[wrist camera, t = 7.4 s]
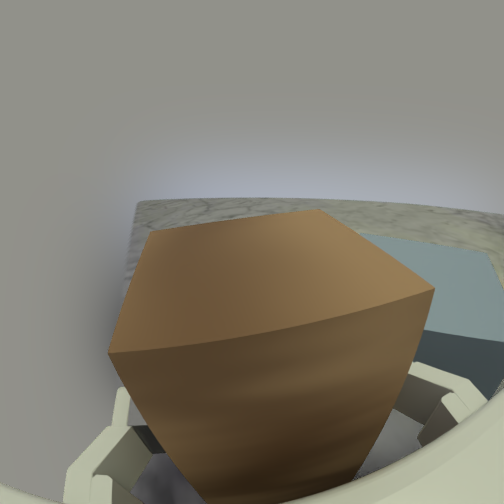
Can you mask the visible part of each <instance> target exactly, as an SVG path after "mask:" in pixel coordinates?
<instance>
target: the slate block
mask: <svg viewBox="0 0 504 504" xmlns="http://www.w3.org/2000/svg"><path fill="white" fill-rule="evenodd" d="M359 235H361V236H362V237H364V238H365V239H367V240H368V241H370V242H371V243H373V244H374V245H376V246H377V247H379V248H380V249H382V250H383V251H385V252H386V253H388V254H389V255H390V256H392V257H393V258H395V259H396V260H398V261H399V262H400V263H402V264H403V265H405V266H406V267H407V268H409V269H410V270H412V271H413V272H414V273H416V274H417V275H419V276H420V277H421V278H423V279H424V280H425V281H427V282H428V283H429V284H431V285H432V286H433V287H435V291H434V295H433V299H432V303H431V306H430V310H429V314H428V317H427V320H426V324H425V327H424V330H423V333H422V336H421V339H420V342H419V345H418V348H417V351H416V353H415V356H414V359H413V362H420V363H423V364H426V365H428V366H431V367H434V368H437V369H440V370H442V371H445V372H448V373H451V374H454V375H457V376H460V377H463V378H466V379H469V380H470V381H471V383H472V384H473V385H474V386H475V387H476V388H477V389H478V390H479V391H480V392H481V394H482V395H483V396H484V397H485V398H486V399H487V400H488V401H489V400H490V398H491V397H492V395H493V394H494V392H495V391H496V389H497V388H498V386H499V384H500V383H501V381H502V380H503V378H504V290H503V288H502V285H501V283H500V281H499V279H498V276H497V274H496V272H495V270H494V268H493V266H492V263H491V261H490V259H489V257H488V255H487V253H483V252H478V251H472V250H466V249H461V248H455V247H449V246H443V245H437V244H431V243H424V242H418V241H412V240H405V239H398V238H392V237H385V236H378V235H371V234H364V233H360V234H359Z"/></svg>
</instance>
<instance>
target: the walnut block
mask: <svg viewBox="0 0 504 504" xmlns="http://www.w3.org/2000/svg"><path fill="white" fill-rule="evenodd" d="M434 291H435V287H433V286H432V285H431V284H429V283H428V282H427V281H425V280H424V279H423V278H421V277H420V276H419V275H417V274H416V273H414V272H413V271H412V270H410V269H409V268H407V267H406V266H405V265H403V264H402V263H400V262H399V261H398V260H396V259H395V258H393V257H392V256H390V255H389V254H388V253H386V252H385V251H383V250H382V249H380V248H379V247H377V246H376V245H374V244H373V243H371V242H370V241H368V240H367V239H365V238H364V237H362V236H361V235H359V234H358V233H356V232H355V231H353V230H352V229H350V228H348V227H347V226H345V225H344V224H342V223H341V222H339V221H338V220H336V219H334V218H333V217H331V216H330V215H328V214H326V213H325V212H323V211H321V210H320V209H316V210H307V211H298V212H289V213H281V214H272V215H264V216H256V217H248V218H241V219H233V220H226V221H219V222H211V223H204V224H197V225H191V226H184V227H177V228H171V229H164V230H158V231H152V232H150V234H149V237H148V239H147V242H146V244H145V247H144V249H143V251H142V254H141V257H140V259H139V262H138V264H137V267H136V269H135V272H134V275H133V277H132V280H131V283H130V286H129V288H128V291H127V294H126V297H125V300H124V303H123V305H122V308H121V311H120V314H119V317H118V321H117V324H116V327H115V330H114V333H113V336H112V340H111V343H110V346H109V350H108V355H109V357H110V359H111V361H112V363H113V365H114V367H115V369H116V371H117V373H118V375H119V377H120V379H121V381H122V382H123V384H124V386H125V388H126V390H127V392H128V393H129V395H130V397H131V399H132V400H133V402H134V404H135V405H136V407H137V409H138V410H139V412H140V414H141V415H142V417H143V419H144V420H145V422H146V423H147V425H148V427H149V428H150V430H151V431H152V433H153V434H154V436H155V437H156V439H157V440H158V442H159V443H160V444H161V446H162V447H163V449H164V450H165V452H166V453H167V454H168V456H169V457H170V458H171V460H172V461H173V463H174V464H175V465H176V466H177V468H178V469H179V470H180V472H181V473H182V474H183V475H184V477H185V478H186V479H187V480H188V482H189V483H190V484H191V485H192V487H193V488H194V489H195V490H196V491H197V492H198V494H199V495H200V496H201V497H202V498H203V499H204V500H205V502H206V503H207V504H280V503H284V502H288V501H292V500H296V499H300V498H303V497H307V496H310V495H314V494H317V493H320V492H323V491H326V490H329V489H332V488H335V487H338V486H341V485H343V484H346V483H349V482H351V481H352V479H353V478H354V476H355V475H356V473H357V472H358V470H359V469H360V467H361V465H362V464H363V462H364V460H365V459H366V457H367V455H368V454H369V452H370V450H371V449H372V447H373V445H374V443H375V441H376V440H377V438H378V436H379V434H380V432H381V430H382V428H383V427H384V425H385V423H386V421H387V419H388V417H389V415H390V413H391V411H392V408H393V406H394V404H395V402H396V400H397V398H398V395H399V393H400V391H401V389H402V386H403V384H404V382H405V379H406V377H407V374H408V372H409V369H410V367H411V364H412V362H413V359H414V356H415V353H416V351H417V348H418V345H419V342H420V339H421V336H422V333H423V330H424V327H425V324H426V320H427V317H428V314H429V310H430V306H431V303H432V299H433V295H434Z"/></svg>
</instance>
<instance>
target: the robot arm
mask: <svg viewBox="0 0 504 504" xmlns="http://www.w3.org/2000/svg"><path fill="white" fill-rule="evenodd" d="M393 408H394V409H396V410H397V411H399V412H401V413H403V414H405V415H406V416H408V417H410V418H412V419H414V420H416V421H417V422H419V423H421V424H423V425H424V427H423V428H422V430H421V431H420V433H419V434H418V437H417V439H418V440H419V442H420V443H421V445H422V446H423V447H422V448H420V449H418V450H417V451H415V452H413V453H411V454H409V455H408V456H406V457H404V458H402V459H400V460H398V461H396V462H394V463H392V464H390V465H388V466H386V467H384V468H382V469H379V470H377V471H375V472H373V473H371V474H368V475H366V476H364V477H361V478H359V479H356V480H354V481H351V482H349V483H346V484H343V485H341V486H338V487H335V488H332V489H329V490H326V491H323V492H320V493H317V494H314V495H310V496H307V497H303V498H300V499H296V500H292V501H288V502H284V503H280V504H504V388H503V389H502V390H500V391H499V392H498V393H497V394H496V395H495V396H494V397H492V398H491V399H490V400H489V401H488V400H487V399H486V398H485V397H484V396H483V395H482V394H481V392H480V391H479V390H478V389H477V388H476V387H475V386H474V385H473V384H472V383H471V381H470V380H469V379H466V378H463V377H460V376H457V375H454V374H451V373H448V372H445V371H442V370H440V369H437V368H434V367H431V366H428V365H426V364H423V363H420V362H412V364H411V367H410V369H409V372H408V374H407V377H406V379H405V382H404V384H403V386H402V389H401V391H400V393H399V395H398V398H397V400H396V402H395V404H394V406H393ZM159 453H166V452H165V450H164V449H163V447H162V446H161V444H160V443H159V442H158V440H157V439H156V437H155V436H154V434H153V433H152V431H151V430H150V428H149V427H148V425H147V423H146V422H145V420H144V419H143V417H142V415H141V414H140V412H139V410H138V409H137V407H136V405H135V404H134V402H133V400H132V399H131V397H130V395H129V393H128V392H127V390H126V388H125V387H119V389H118V391H117V394H116V400H115V406H114V412H113V418H112V424H111V426H107V427H106V428H105V429H104V431H102V433H101V434H100V435H99V436H98V437H97V438H96V439H95V440H94V441H93V442H92V443H91V444H90V446H89V447H88V448H87V449H86V450H85V451H84V452H83V453H82V454H81V455H80V456H79V457H78V458H77V460H76V461H75V462H74V463H73V464H72V465H71V466H70V467H69V468H68V470H67V475H66V482H65V489H64V497H63V503H60V502H57V501H52V500H49V499H46V498H42V497H39V496H36V495H33V494H29V493H27V492H24V491H21V490H18V489H15V488H13V487H10V486H7V485H5V484H3V483H0V504H144V503H143V502H142V501H141V500H139V499H138V498H136V497H135V496H134V495H132V494H131V493H130V491H131V489H132V488H133V486H134V485H135V483H136V481H137V480H138V478H139V477H140V475H141V473H142V472H143V470H144V469H145V467H146V465H147V464H148V462H149V461H150V459H151V457H152V456H153V455H152V454H159Z"/></svg>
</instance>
